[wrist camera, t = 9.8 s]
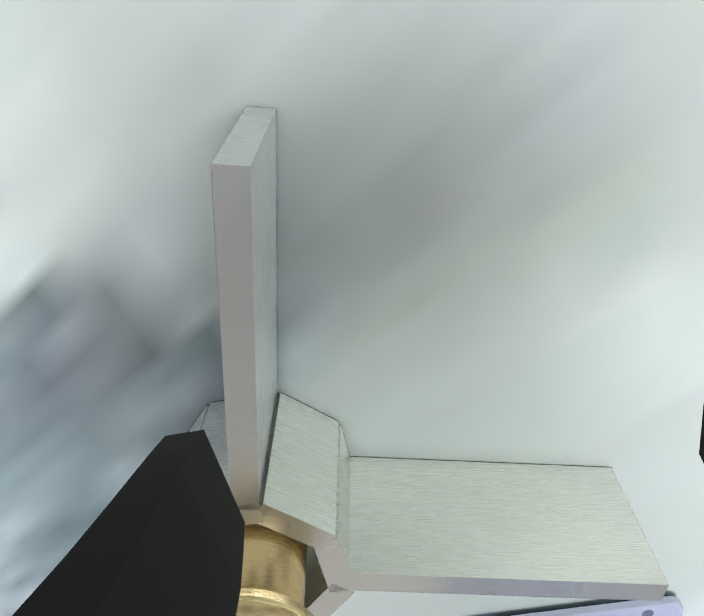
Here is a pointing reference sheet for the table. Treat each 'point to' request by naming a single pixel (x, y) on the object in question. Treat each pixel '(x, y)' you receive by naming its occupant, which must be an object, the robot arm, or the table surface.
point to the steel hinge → (386, 473)
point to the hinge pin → (272, 574)
